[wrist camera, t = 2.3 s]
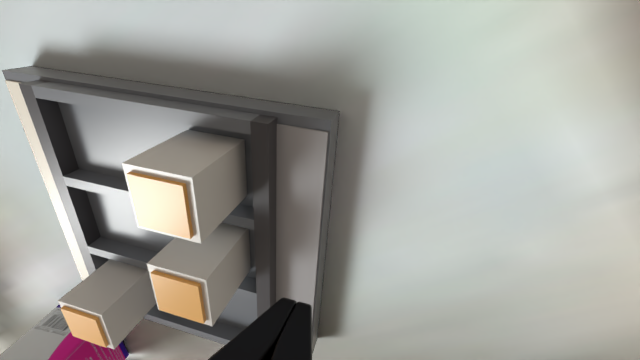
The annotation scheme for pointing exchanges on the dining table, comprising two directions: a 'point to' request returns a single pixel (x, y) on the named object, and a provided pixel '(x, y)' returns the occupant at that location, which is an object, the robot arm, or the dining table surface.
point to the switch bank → (156, 127)
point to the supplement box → (58, 343)
